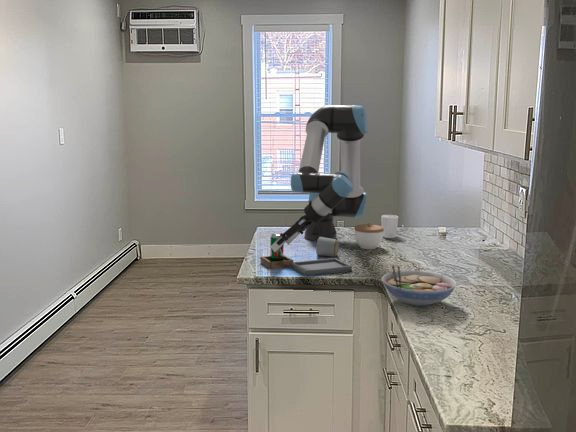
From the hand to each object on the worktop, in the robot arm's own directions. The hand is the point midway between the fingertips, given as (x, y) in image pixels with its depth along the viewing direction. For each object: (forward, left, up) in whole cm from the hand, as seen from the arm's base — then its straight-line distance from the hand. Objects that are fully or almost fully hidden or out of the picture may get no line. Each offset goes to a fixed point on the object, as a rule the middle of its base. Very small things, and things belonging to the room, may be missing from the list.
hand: (279, 245), depth 223 cm
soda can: (0, -2, -8) cm, 8 cm away
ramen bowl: (-23, +56, -8) cm, 61 cm away
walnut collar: (0, -2, -8) cm, 8 cm away
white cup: (-70, -31, -8) cm, 77 cm away
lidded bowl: (-49, -15, -8) cm, 51 cm away
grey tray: (-13, +10, -8) cm, 18 cm away
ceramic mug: (-25, -9, -8) cm, 28 cm away
